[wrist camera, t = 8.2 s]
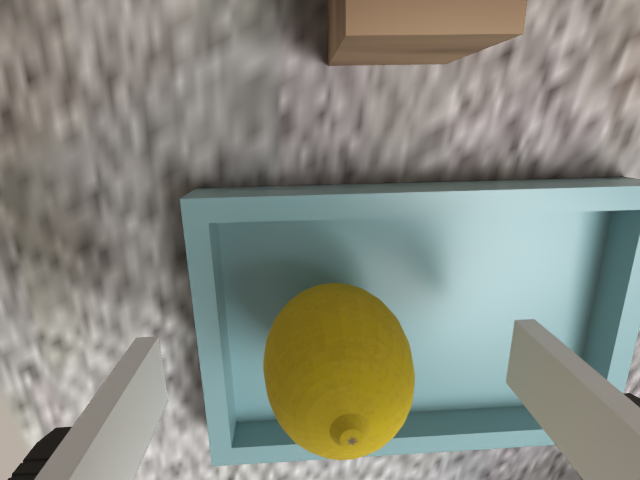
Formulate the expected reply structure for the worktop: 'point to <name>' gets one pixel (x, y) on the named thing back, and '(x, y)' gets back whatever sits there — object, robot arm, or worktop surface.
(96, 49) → the worktop surface
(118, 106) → the worktop surface
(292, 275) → the tray
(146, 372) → the robot arm
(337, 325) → the lemon
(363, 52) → the walnut block
